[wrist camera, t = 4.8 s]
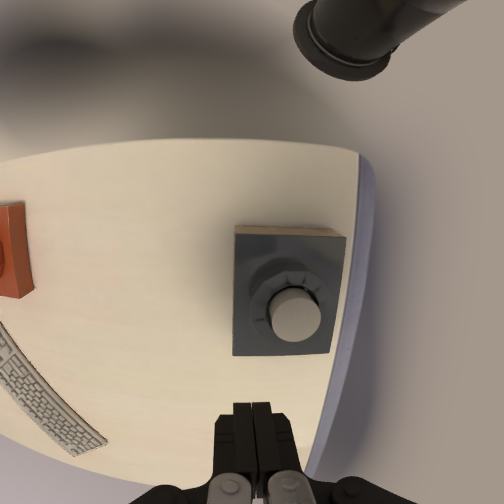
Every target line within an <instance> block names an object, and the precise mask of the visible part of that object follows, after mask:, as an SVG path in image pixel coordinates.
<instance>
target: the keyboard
mask: <svg viewBox="0 0 504 504" xmlns="http://www.w3.org/2000/svg"><path fill="white" fill-rule="evenodd" d="M0 384H1V386H2V387H3V388H4V389H5V390H6V392H7V393H8V394H9V395H10V396H11V397H12V399H13V400H14V401H15V402H16V403H17V404H18V405H19V406H20V408H21V409H22V410H23V411H24V412H25V413H26V414H27V415H28V416H29V417H30V418H31V419H32V420H33V421H34V422H35V423H36V424H37V425H38V426H39V427H40V428H41V429H42V430H43V431H44V432H45V433H46V434H47V435H48V436H50V437H51V438H52V439H53V440H54V441H55V442H56V443H57V444H59V445H60V446H61V447H62V448H63V449H64V450H66V451H67V452H68V453H69V454H70V455H72V456H73V457H75V456H78V455H81V454H83V453H86V452H89V451H92V450H94V449H97V448H99V447H102V446H105V445H107V441H106V440H105V439H104V438H103V437H102V436H101V435H99V434H98V433H97V432H96V431H95V430H94V429H92V428H91V427H90V426H89V425H88V424H87V423H86V422H85V421H84V420H82V419H81V418H80V417H79V416H78V415H77V414H76V413H75V412H74V411H73V410H72V409H71V408H70V407H69V406H68V405H67V404H66V403H65V402H64V401H63V400H62V399H61V398H60V397H59V396H58V395H57V394H56V393H55V392H54V391H53V389H52V388H51V387H50V386H49V385H48V384H47V383H46V382H45V381H44V379H43V378H42V377H41V376H40V375H39V374H38V372H37V371H36V370H35V369H34V368H33V366H32V365H31V364H30V363H29V361H28V360H27V359H26V358H25V356H24V355H23V354H22V352H21V351H20V350H19V349H18V347H17V346H16V344H15V343H14V342H13V340H12V339H11V337H10V336H9V335H8V333H7V332H6V330H5V329H4V327H3V326H2V324H1V323H0Z"/></svg>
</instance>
